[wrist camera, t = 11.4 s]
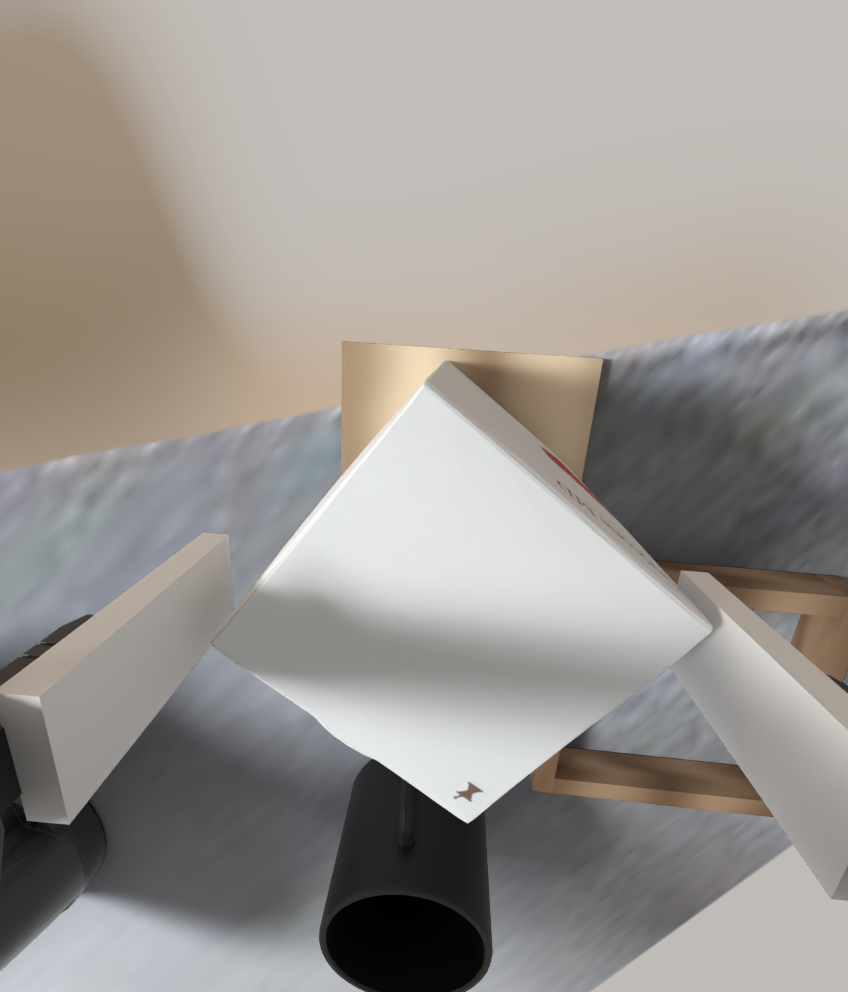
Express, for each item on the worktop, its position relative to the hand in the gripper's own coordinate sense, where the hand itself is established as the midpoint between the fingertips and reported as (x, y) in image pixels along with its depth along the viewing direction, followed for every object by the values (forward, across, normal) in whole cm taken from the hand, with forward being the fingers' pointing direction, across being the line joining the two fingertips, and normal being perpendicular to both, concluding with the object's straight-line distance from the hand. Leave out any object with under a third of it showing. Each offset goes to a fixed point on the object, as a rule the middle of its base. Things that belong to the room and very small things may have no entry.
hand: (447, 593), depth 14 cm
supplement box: (+12, 0, 0) cm, 12 cm away
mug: (+13, 0, -23) cm, 26 cm away
